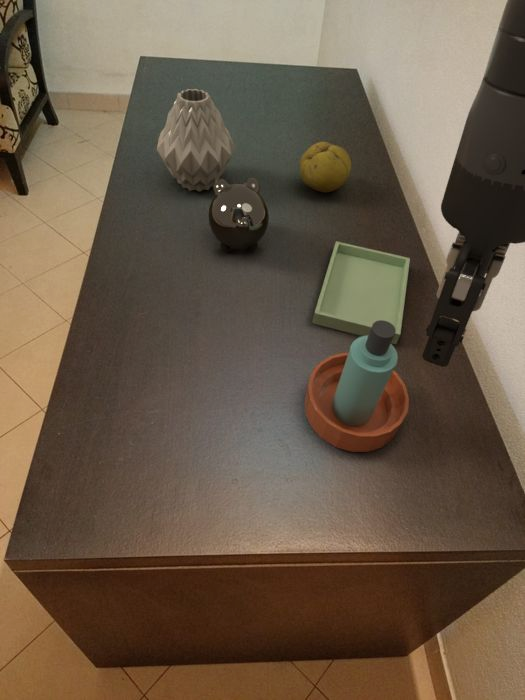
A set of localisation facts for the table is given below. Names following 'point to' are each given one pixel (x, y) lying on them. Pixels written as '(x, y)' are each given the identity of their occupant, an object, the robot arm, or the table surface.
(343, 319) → the tray
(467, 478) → the table surface
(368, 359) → the bottle
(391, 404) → the bowl
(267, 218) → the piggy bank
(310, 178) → the fruit
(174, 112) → the vase
